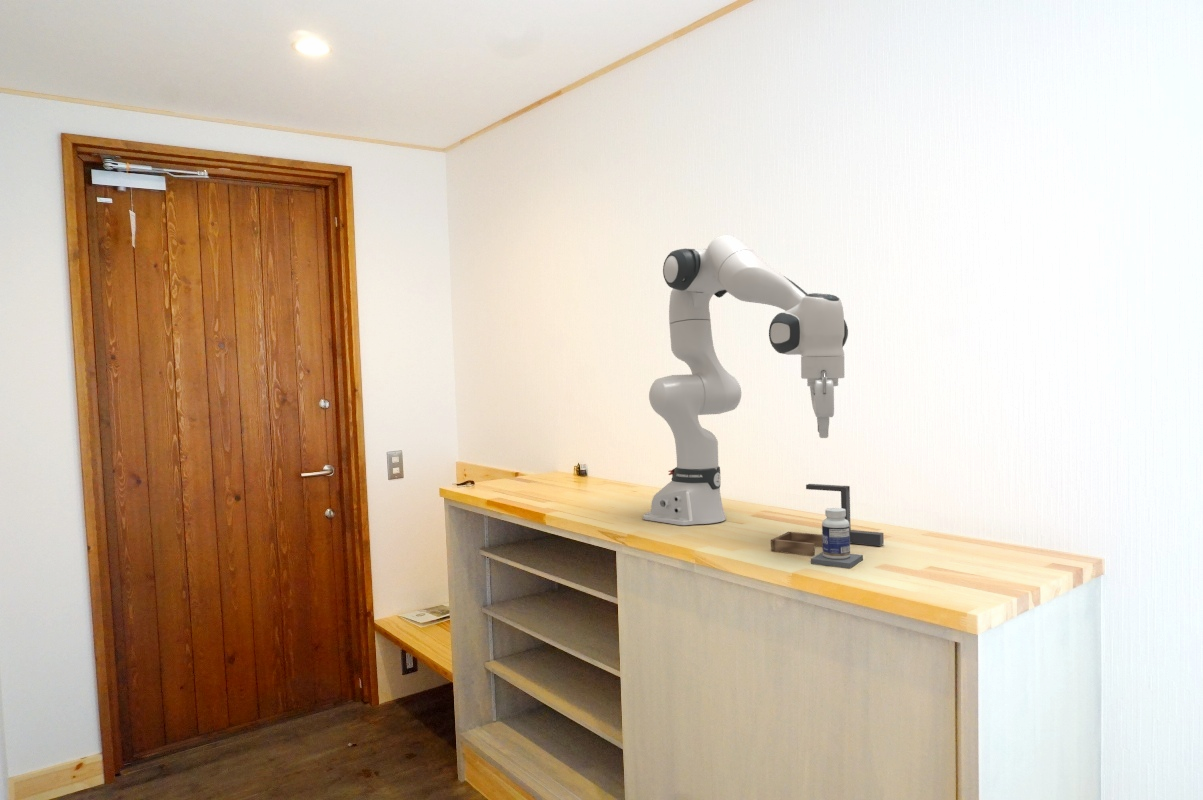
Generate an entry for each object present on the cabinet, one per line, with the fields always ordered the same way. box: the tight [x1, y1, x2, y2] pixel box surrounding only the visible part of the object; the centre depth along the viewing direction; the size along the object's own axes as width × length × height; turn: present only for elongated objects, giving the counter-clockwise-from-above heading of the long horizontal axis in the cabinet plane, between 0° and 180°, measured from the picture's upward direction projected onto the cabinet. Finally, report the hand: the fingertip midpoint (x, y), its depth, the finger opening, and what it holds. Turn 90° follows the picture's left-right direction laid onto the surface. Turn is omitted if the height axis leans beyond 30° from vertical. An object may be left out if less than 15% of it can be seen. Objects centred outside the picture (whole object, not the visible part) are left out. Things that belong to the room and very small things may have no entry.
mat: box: [810, 551, 864, 569], centre depth 159 cm, size 8×8×1 cm
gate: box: [805, 483, 885, 547], centre depth 177 cm, size 17×2×12 cm, turn 54°
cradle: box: [770, 531, 823, 557], centre depth 172 cm, size 10×10×2 cm
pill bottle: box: [821, 507, 851, 559], centre depth 159 cm, size 5×5×10 cm
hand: (822, 435), depth 166 cm, fingers open, 8 cm apart
